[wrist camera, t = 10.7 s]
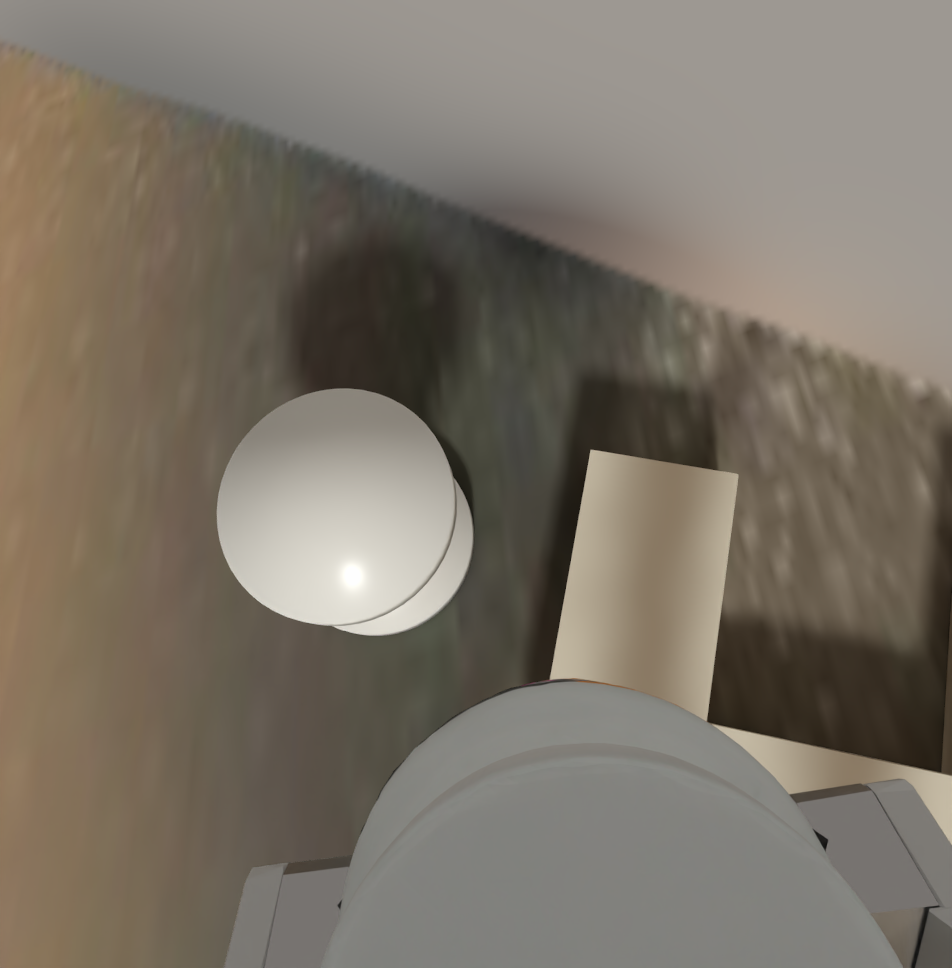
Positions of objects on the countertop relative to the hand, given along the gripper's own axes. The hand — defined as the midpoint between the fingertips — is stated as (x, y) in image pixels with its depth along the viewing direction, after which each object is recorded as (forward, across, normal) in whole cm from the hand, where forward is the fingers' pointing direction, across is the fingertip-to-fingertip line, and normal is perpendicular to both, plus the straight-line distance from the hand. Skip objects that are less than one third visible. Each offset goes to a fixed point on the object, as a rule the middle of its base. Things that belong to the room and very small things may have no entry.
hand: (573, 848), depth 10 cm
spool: (+20, +6, +7) cm, 22 cm away
